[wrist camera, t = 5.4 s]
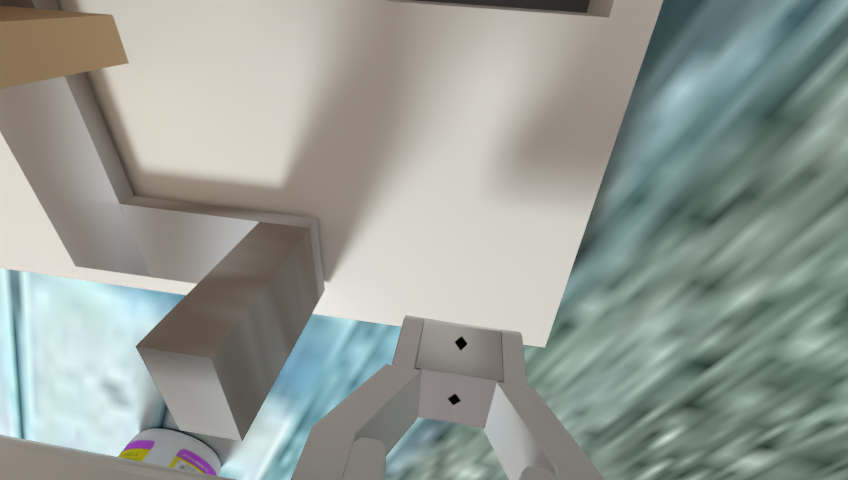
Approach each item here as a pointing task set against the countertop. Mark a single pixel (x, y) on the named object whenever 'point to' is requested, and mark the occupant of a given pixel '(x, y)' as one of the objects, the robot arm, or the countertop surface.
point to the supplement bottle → (172, 451)
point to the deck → (354, 135)
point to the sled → (171, 256)
